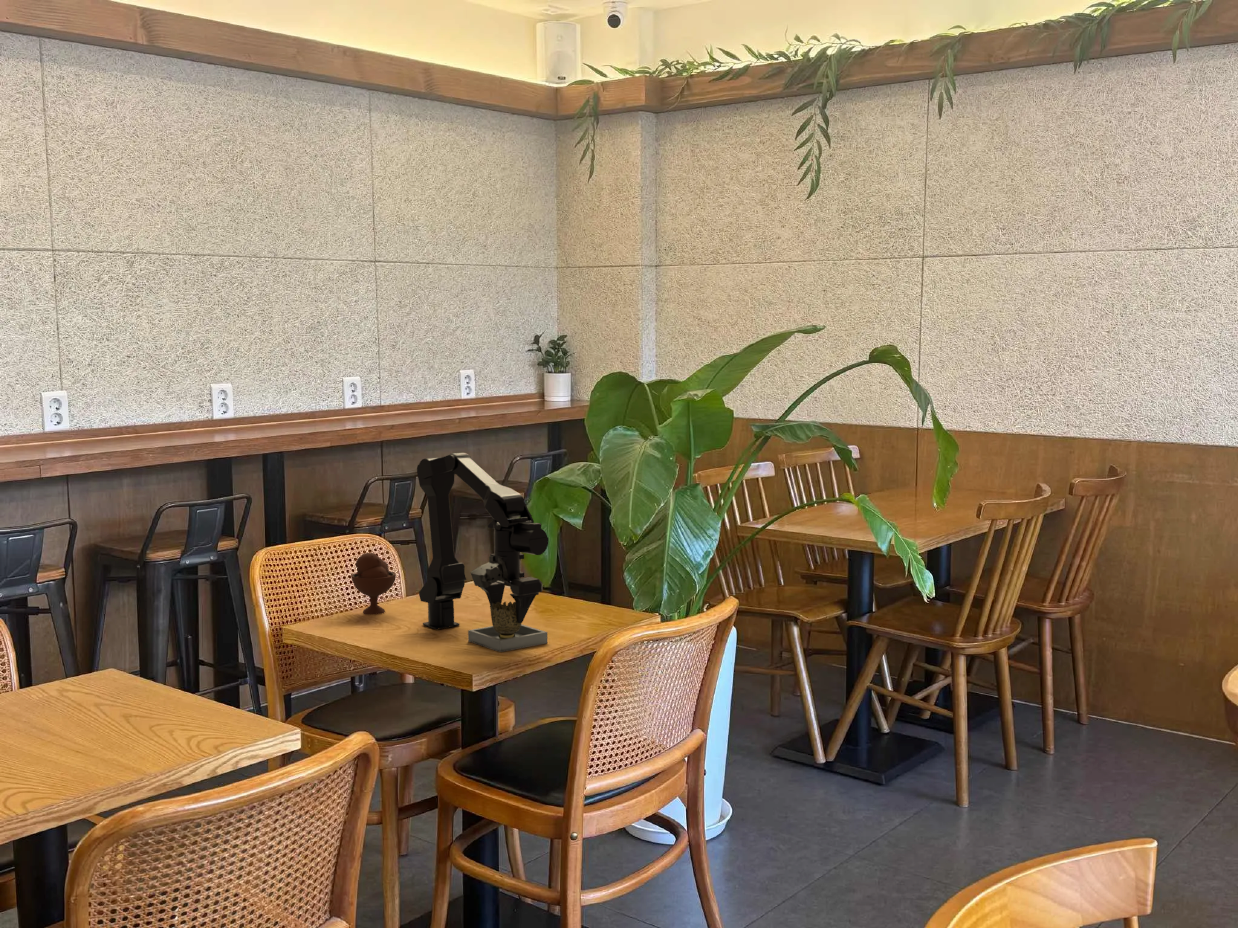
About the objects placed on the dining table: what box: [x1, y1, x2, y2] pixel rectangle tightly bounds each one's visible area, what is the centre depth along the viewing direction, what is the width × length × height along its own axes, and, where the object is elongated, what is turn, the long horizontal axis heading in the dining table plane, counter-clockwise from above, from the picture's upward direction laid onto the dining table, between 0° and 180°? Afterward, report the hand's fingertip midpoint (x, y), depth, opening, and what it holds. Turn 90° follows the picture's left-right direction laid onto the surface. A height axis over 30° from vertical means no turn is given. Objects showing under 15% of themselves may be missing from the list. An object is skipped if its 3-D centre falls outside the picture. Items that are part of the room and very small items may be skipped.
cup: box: [489, 601, 522, 640], centre depth 273 cm, size 8×7×8 cm
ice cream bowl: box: [350, 552, 397, 616], centre depth 303 cm, size 11×11×15 cm
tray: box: [467, 623, 548, 653], centre depth 273 cm, size 13×13×2 cm
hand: (507, 619), depth 273 cm, fingers open, 9 cm apart
